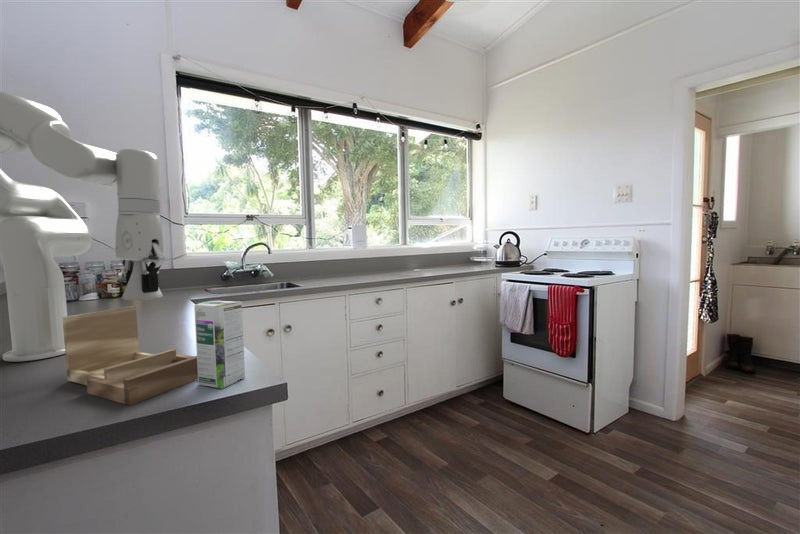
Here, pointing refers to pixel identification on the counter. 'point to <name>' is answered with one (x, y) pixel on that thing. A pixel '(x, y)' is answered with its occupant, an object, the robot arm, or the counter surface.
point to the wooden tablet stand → (107, 346)
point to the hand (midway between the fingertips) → (142, 290)
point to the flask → (138, 286)
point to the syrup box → (219, 343)
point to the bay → (146, 382)
